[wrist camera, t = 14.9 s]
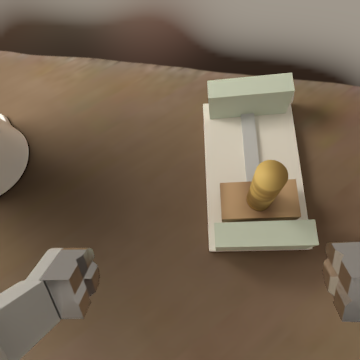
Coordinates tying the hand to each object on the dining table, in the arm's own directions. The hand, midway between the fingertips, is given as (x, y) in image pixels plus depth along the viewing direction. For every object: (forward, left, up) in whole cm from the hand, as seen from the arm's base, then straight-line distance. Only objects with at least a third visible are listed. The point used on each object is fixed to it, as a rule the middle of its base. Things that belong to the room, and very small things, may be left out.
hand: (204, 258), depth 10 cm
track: (+6, +14, -33) cm, 37 cm away
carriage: (+6, +9, -30) cm, 32 cm away
